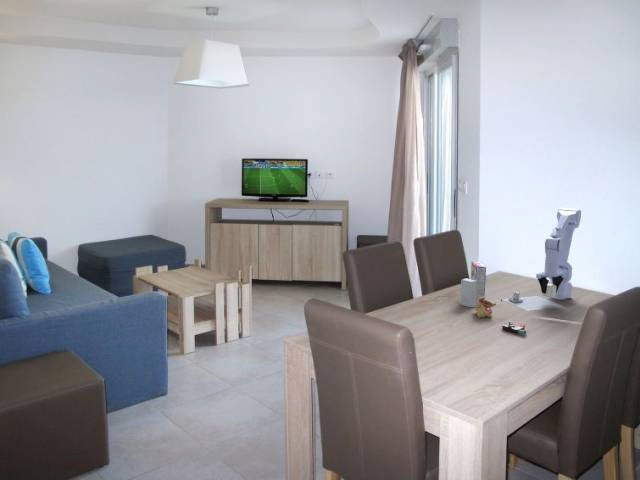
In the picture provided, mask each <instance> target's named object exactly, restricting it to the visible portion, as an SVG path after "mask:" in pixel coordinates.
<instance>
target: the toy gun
mask: <svg viewBox="0 0 640 480" xmlns="http://www.w3.org/2000/svg"><path fill="white" fill-rule="evenodd" d="M501 327H502V328H501V330H502V331H504V332H507V333H511V334H513V335H518V336H521V337H524V335H526V336H527V335H528V334H527V331H526V330H525V328H526V325H525V324H524V323H523V324H520V325H519V326H516V325H514V324H513V323H512V320H511V319H510V320H508V322H507V323H505V324H502V326H501Z"/></svg>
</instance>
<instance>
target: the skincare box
mask: <svg viewBox="0 0 640 480" xmlns="http://www.w3.org/2000/svg"><path fill="white" fill-rule="evenodd" d="M476 293H477V281H475V280H471V278H463V279H461V280H460V306H464V307H467V308H468V307H469V308H474V307H476Z"/></svg>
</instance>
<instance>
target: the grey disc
mask: <svg viewBox="0 0 640 480" xmlns="http://www.w3.org/2000/svg"><path fill="white" fill-rule="evenodd" d="M520 296H521V294H520V292H519V291H514V292H513V296H512V297H510V299H509V298H508V299H509V301H510V302H513V303H522V302H523V300H522V299H519V298H520Z"/></svg>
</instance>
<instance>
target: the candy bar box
mask: <svg viewBox="0 0 640 480" xmlns="http://www.w3.org/2000/svg"><path fill="white" fill-rule="evenodd" d="M470 263H471V264H470V279H471V280H475V281H477V293H476V300H477V299H478V298H480V297H485V294H486V279H487V278H486V277H487V266H485V265H484V264H485V263H483V262H481V261H473V260H472V261H471V262H470Z"/></svg>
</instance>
